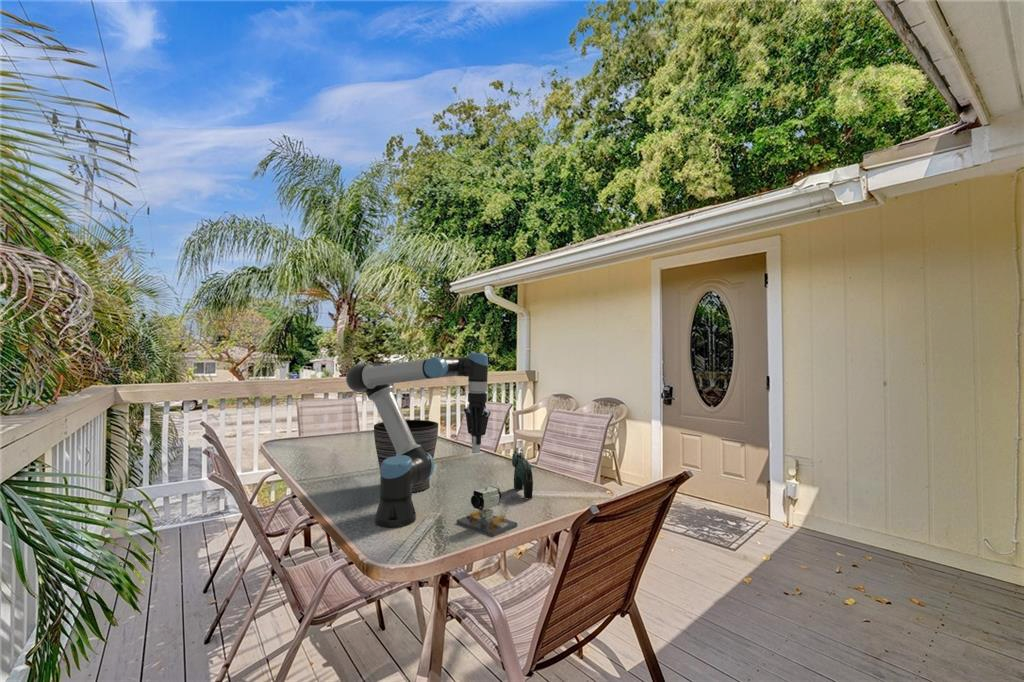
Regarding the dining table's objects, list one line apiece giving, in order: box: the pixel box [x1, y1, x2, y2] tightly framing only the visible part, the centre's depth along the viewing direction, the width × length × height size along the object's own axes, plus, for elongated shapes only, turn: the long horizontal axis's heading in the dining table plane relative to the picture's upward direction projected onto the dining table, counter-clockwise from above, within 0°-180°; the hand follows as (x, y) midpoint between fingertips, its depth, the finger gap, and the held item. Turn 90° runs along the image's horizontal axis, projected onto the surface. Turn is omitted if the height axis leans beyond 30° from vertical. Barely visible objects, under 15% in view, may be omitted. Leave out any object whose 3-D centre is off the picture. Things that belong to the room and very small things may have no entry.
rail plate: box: [456, 509, 518, 537], centre depth 173 cm, size 13×19×4 cm
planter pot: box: [373, 419, 439, 494], centre depth 220 cm, size 30×30×30 cm
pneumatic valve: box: [470, 485, 502, 521], centre depth 173 cm, size 6×12×12 cm, turn 135°
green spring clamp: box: [511, 448, 534, 499], centre depth 213 cm, size 20×6×20 cm, turn 16°
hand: (476, 452), depth 180 cm, fingers closed
